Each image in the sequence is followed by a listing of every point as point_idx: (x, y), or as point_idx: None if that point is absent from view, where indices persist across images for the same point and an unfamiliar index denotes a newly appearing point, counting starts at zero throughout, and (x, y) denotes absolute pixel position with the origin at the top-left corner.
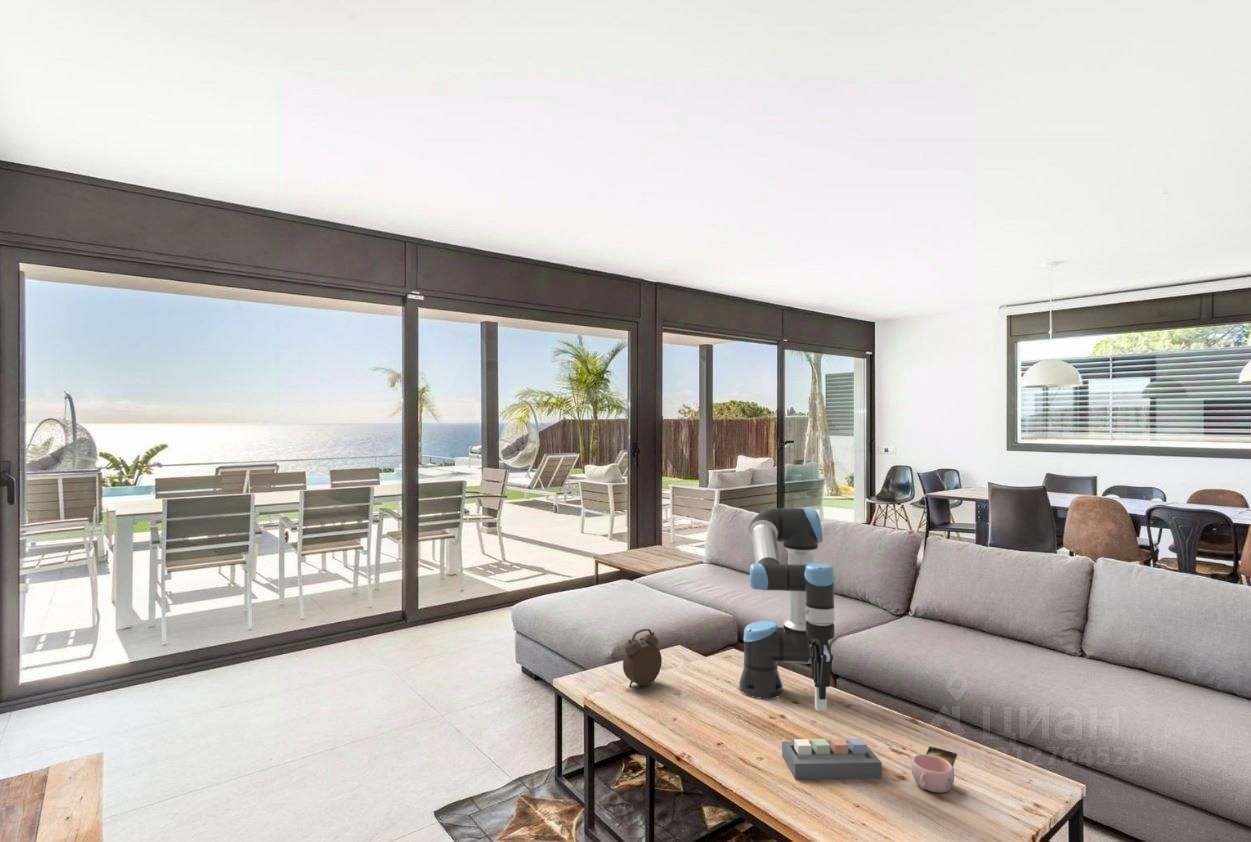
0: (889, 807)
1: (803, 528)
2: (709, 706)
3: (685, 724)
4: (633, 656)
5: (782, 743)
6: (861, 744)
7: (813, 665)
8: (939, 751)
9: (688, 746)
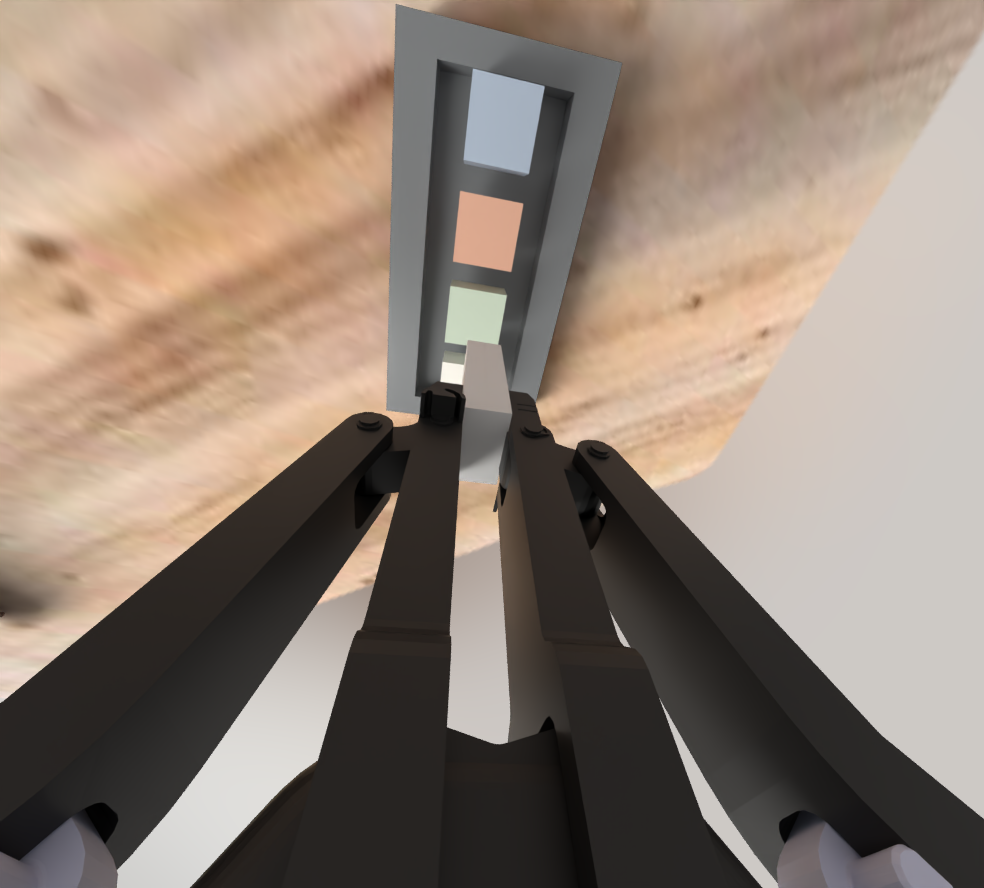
0: (754, 198)
1: None
2: (54, 479)
3: None
4: None
5: (392, 409)
6: (535, 119)
7: (332, 566)
8: None
9: None
